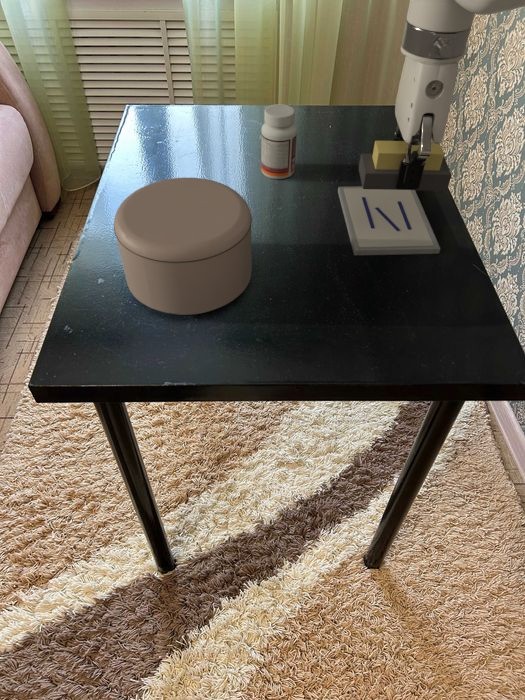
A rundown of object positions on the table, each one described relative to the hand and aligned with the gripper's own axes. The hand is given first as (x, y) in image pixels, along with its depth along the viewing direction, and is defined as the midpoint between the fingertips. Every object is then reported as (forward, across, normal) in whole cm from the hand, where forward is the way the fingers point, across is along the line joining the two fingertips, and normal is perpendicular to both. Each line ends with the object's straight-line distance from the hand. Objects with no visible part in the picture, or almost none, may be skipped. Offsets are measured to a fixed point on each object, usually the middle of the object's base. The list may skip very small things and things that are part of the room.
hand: (403, 175), depth 77 cm
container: (+11, -11, +31) cm, 34 cm away
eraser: (+1, 0, 0) cm, 1 cm away
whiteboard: (+11, +4, 0) cm, 12 cm away
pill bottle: (+11, +20, +18) cm, 28 cm away
